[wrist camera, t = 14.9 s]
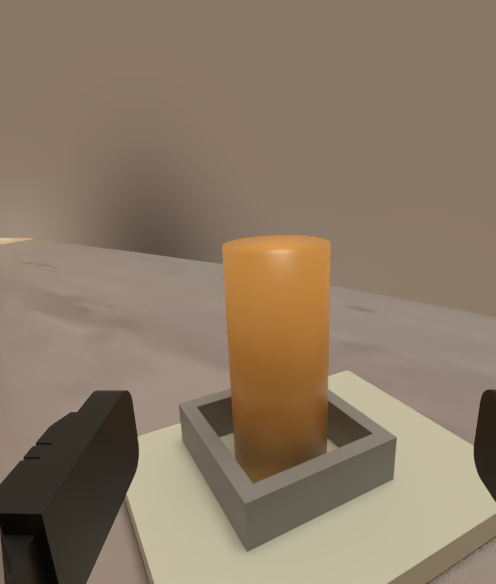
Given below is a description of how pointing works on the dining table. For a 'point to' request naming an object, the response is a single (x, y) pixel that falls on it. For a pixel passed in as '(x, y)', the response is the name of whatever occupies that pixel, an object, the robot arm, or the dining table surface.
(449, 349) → the dining table surface
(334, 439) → the cream slab
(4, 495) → the robot arm
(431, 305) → the dining table surface
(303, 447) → the orange cylinder
